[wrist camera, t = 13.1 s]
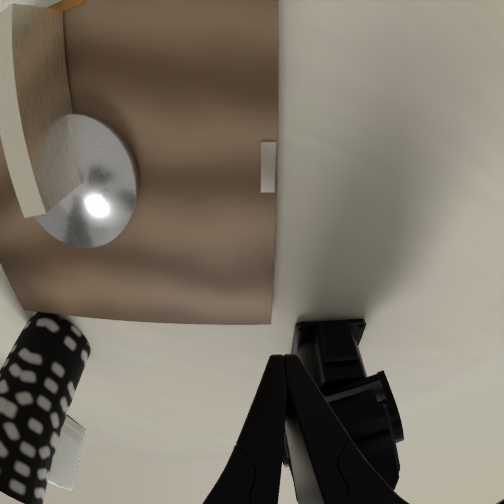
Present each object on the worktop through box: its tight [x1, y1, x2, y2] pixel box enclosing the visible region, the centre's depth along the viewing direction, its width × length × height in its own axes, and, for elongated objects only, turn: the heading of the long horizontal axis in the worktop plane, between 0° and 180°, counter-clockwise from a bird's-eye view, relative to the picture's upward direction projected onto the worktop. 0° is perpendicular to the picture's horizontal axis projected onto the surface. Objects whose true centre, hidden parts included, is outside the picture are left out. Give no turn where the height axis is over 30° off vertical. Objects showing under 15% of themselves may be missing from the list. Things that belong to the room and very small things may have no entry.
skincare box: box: [47, 416, 86, 491], centre depth 37 cm, size 8×7×16 cm
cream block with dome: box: [0, 4, 139, 248], centre depth 12 cm, size 16×9×5 cm, turn 5°
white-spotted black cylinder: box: [0, 311, 90, 504], centre depth 19 cm, size 8×8×20 cm
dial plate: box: [0, 0, 278, 325], centre depth 17 cm, size 25×25×2 cm
